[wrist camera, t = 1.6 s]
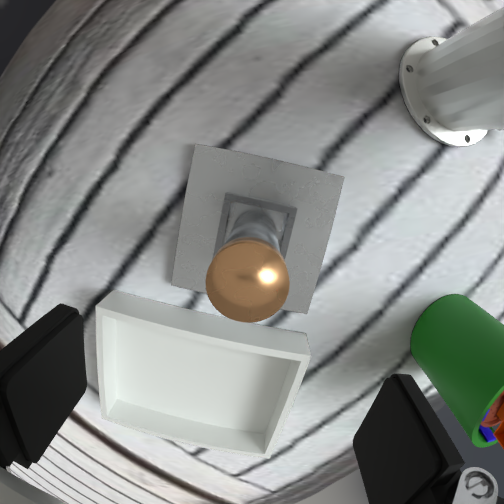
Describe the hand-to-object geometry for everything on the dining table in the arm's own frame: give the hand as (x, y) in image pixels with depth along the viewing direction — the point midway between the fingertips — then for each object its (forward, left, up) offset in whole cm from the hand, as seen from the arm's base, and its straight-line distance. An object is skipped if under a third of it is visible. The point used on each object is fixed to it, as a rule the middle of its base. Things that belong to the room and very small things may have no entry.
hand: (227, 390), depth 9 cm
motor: (-25, +7, -23) cm, 35 cm away
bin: (+3, +18, -23) cm, 29 cm away
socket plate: (0, 0, -23) cm, 23 cm away
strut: (0, 0, -22) cm, 22 cm away
